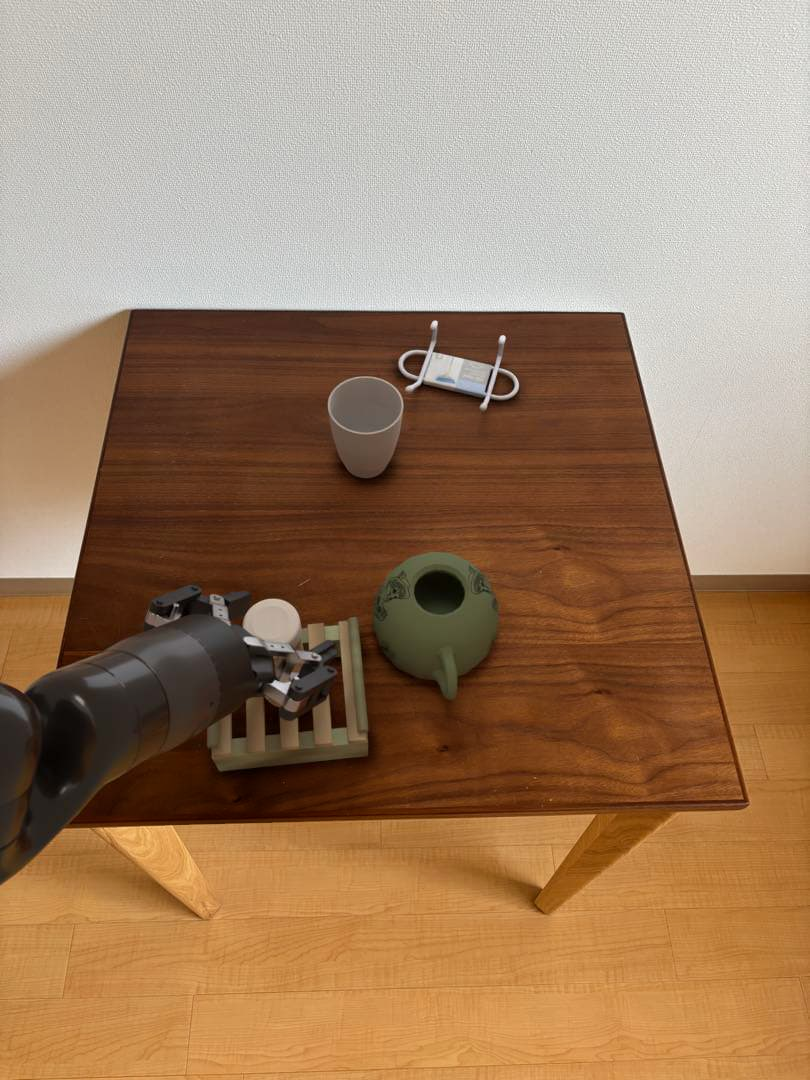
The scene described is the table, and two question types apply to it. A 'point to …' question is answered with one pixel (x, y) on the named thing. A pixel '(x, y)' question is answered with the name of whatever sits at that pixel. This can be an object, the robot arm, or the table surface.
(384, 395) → the cup
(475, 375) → the wall mount rack
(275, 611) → the sprinkles bottle
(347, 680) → the drying rack
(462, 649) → the olive green ceramic pot
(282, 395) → the table surface
